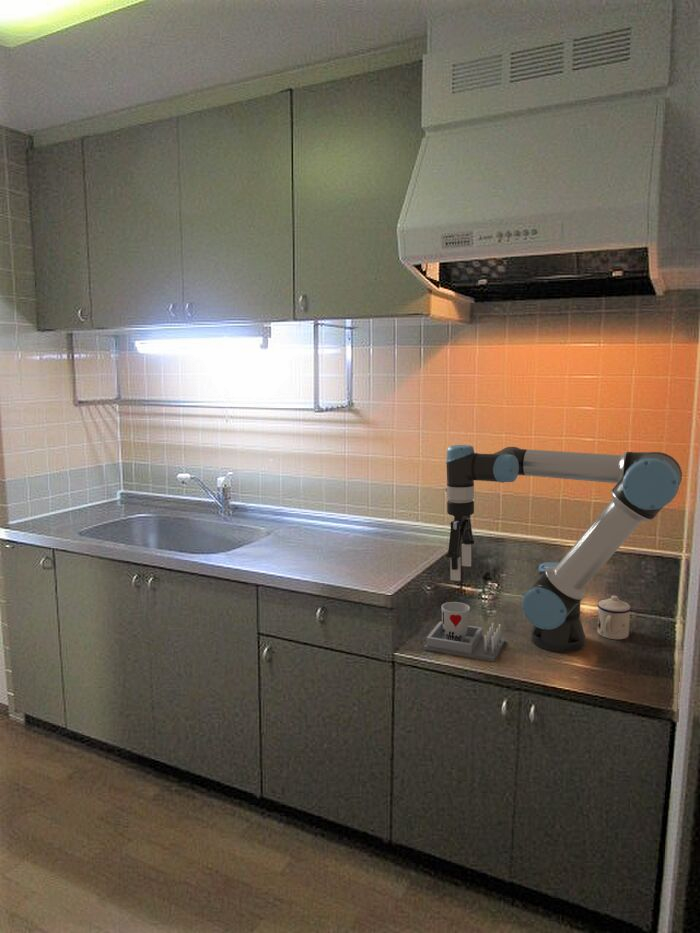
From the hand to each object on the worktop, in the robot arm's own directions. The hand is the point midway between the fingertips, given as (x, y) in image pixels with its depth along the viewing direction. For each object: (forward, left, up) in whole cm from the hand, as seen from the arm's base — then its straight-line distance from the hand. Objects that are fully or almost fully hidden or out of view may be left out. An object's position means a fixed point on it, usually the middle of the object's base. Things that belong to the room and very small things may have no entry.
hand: (461, 572), depth 188 cm
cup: (+1, +1, -20) cm, 20 cm away
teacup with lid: (-40, -21, -21) cm, 50 cm away
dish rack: (-2, +2, -21) cm, 21 cm away
